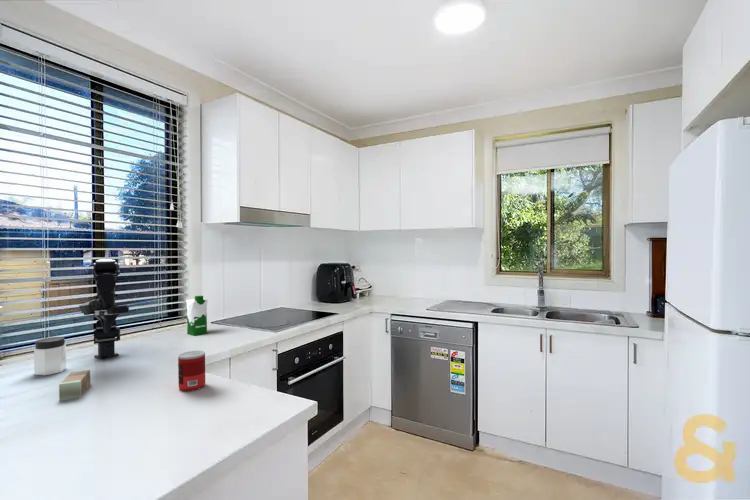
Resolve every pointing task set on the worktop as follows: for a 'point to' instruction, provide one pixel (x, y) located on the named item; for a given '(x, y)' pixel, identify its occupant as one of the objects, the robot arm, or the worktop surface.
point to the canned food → (191, 370)
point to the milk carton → (197, 316)
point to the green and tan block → (74, 385)
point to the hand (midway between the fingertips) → (106, 332)
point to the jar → (49, 356)
